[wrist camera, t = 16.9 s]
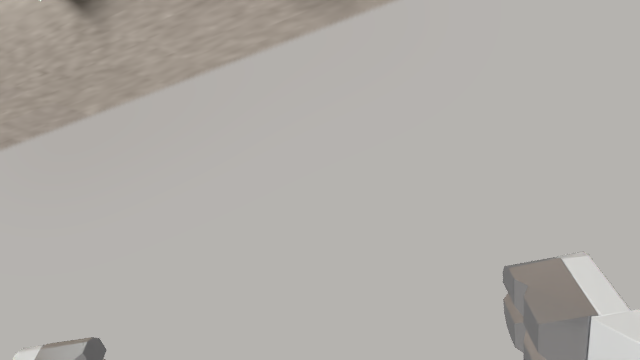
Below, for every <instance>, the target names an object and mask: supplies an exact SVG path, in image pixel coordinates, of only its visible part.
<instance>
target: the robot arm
mask: <svg viewBox="0 0 640 360" xmlns="http://www.w3.org/2000/svg"><path fill="white" fill-rule="evenodd" d="M503 283H504V285H505V287H506V289H507V291H508V294H507V296H506V297H505V298H504V314H505V319H506V324H507V327H508V330H509V334H510V336H511V339H512V341H513V343H514V345H515V348H517V349H518V350H520V351H522V352H523V353H524V360H640V309H637V310H631V309H630V308H629V307H628V306H627V304H626V303H625V302H624V300H623V299H622V298H621V297H620V295H619V294H618V292H617V291H616V290H615V288H614V287H613V286H612V285H611V284H610V282H609V281H608V279H607V278H606V277H605V276H604V274H603V273H602V272H601V270H600V269H599V268H598V266H597V265H596V264H595V262H594V261H593V260H592V258H591V257H590V256H589V255H588V254H587V253H585V252H578V253H573V254H567V255H562V256H557V257H556V258H555V257H553V258H548V259H543V260H537V261H531V262H526V263H520V264H515V265H509V266H505V267H504V270H503ZM105 352H106V348H105V347H104V345H103V343H102V342H101V340H100V339H99V338H94V337H91V338H85V339H78V340H71V341H64V342H57V343H51V344H46V345H41V346H34V347H28V348H23V349H21V350H20V351H19V352H17V353H16V354H15V356H14V358H13V360H105V359H103V358H104V355H105Z"/></svg>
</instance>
